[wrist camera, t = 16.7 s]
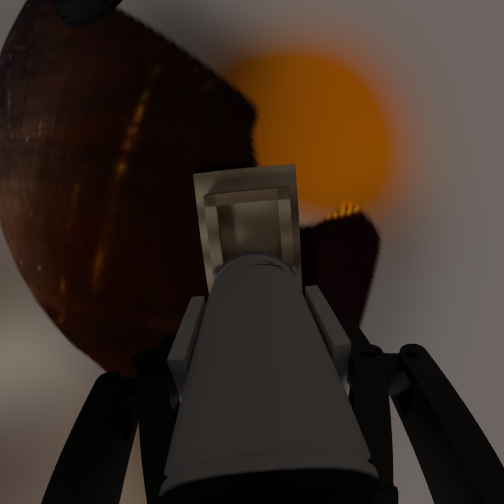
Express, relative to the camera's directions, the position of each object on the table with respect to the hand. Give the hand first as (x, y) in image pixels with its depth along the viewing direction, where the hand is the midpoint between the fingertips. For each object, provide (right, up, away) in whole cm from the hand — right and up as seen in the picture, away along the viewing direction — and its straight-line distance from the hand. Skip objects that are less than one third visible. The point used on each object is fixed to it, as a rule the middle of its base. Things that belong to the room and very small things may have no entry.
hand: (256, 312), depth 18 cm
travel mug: (0, +1, +4) cm, 4 cm away
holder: (0, +3, +25) cm, 25 cm away
